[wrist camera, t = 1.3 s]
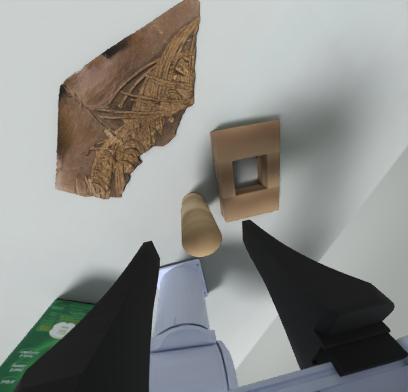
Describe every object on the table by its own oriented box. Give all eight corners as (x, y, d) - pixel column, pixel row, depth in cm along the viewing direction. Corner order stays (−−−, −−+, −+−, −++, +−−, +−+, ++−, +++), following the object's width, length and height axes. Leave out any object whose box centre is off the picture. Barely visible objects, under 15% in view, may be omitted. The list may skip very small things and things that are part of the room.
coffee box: (50, 309, 23) (-89, 489, 11) (54, 297, 23) (-91, 474, 10) (104, 316, 26) (37, 471, 13) (109, 304, 25) (42, 457, 13)
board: (269, 203, 23) (278, 209, 21) (221, 214, 23) (226, 222, 20) (268, 122, 19) (280, 119, 17) (209, 132, 18) (214, 130, 16)
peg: (206, 211, 22) (223, 251, 14) (183, 216, 22) (186, 261, 13) (202, 189, 21) (218, 218, 12) (178, 194, 20) (177, 228, 12)
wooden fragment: (103, 216, 20) (99, 219, 19) (13, 159, 16) (2, 160, 15) (238, 64, 17) (242, 59, 16) (163, -50, 13) (162, -65, 12)
